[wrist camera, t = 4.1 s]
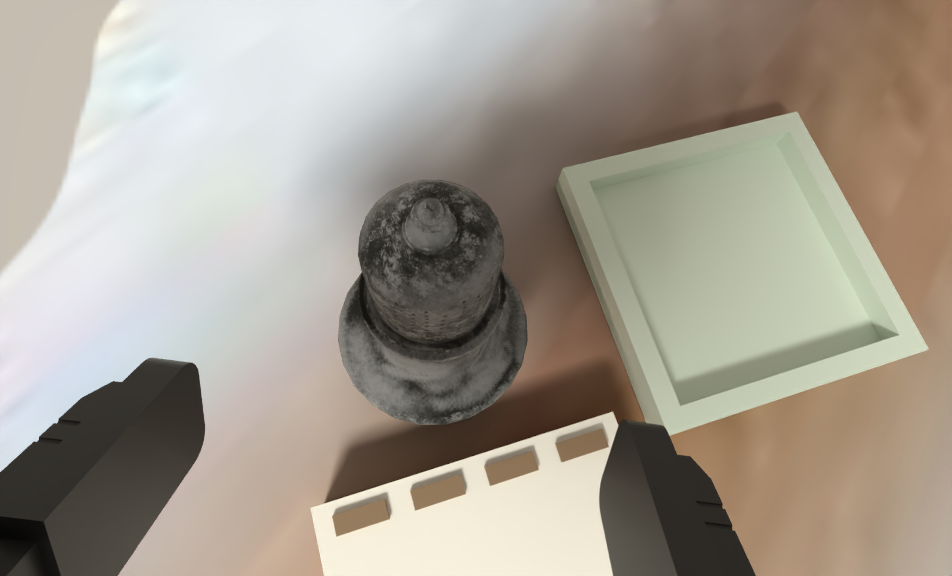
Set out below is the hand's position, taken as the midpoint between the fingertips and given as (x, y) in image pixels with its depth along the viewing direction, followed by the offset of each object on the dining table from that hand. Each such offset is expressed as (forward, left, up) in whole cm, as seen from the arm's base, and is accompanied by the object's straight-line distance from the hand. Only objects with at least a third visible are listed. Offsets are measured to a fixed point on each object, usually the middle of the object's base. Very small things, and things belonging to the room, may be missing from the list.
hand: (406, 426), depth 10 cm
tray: (-13, -3, -9) cm, 17 cm away
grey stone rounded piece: (-1, -3, -9) cm, 10 cm away
